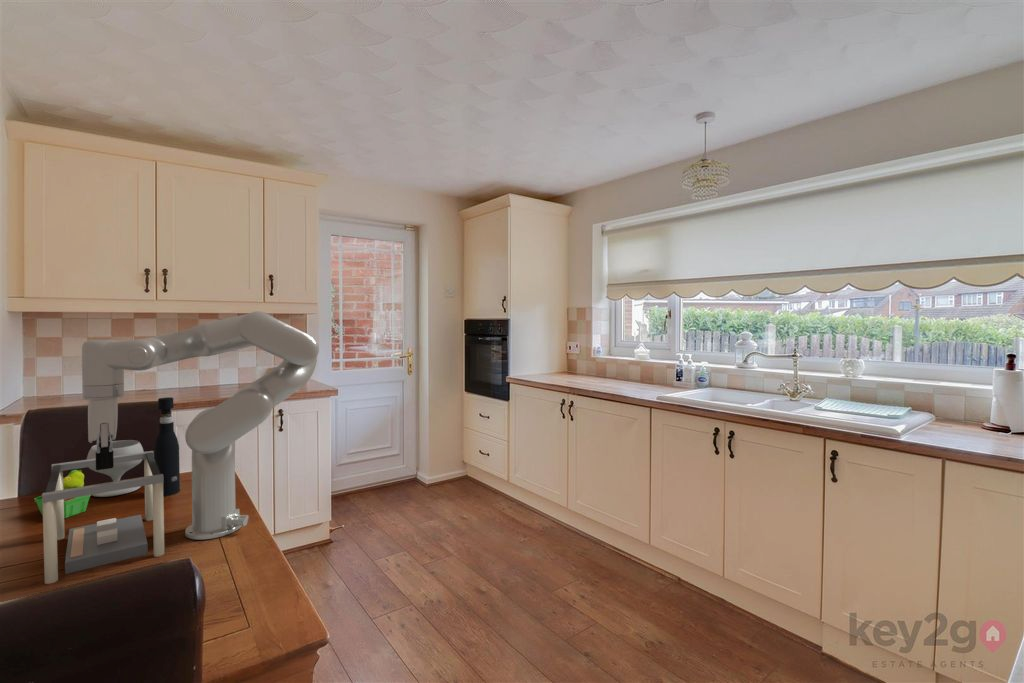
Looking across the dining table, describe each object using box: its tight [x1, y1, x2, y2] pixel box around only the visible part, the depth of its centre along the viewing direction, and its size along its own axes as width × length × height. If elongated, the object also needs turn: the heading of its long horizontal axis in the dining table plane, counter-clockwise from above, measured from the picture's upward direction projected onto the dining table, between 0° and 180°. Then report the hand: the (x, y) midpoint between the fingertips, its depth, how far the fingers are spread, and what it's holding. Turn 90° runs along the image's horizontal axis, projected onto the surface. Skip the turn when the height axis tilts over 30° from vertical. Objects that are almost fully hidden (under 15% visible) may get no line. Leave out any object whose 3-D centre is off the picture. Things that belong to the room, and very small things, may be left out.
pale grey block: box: [97, 528, 118, 545], centre depth 111 cm, size 2×4×2 cm, turn 131°
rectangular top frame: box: [41, 450, 164, 503], centre depth 114 cm, size 28×20×2 cm
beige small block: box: [96, 517, 117, 532], centre depth 117 cm, size 2×4×2 cm, turn 131°
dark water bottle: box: [153, 396, 181, 497], centre depth 150 cm, size 6×6×30 cm
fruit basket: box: [34, 469, 92, 519], centre depth 135 cm, size 11×9×11 cm
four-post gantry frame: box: [42, 459, 165, 585], centre depth 114 cm, size 28×20×17 cm
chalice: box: [86, 439, 145, 498], centre depth 152 cm, size 14×14×15 cm
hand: (104, 468), depth 114 cm, fingers closed
